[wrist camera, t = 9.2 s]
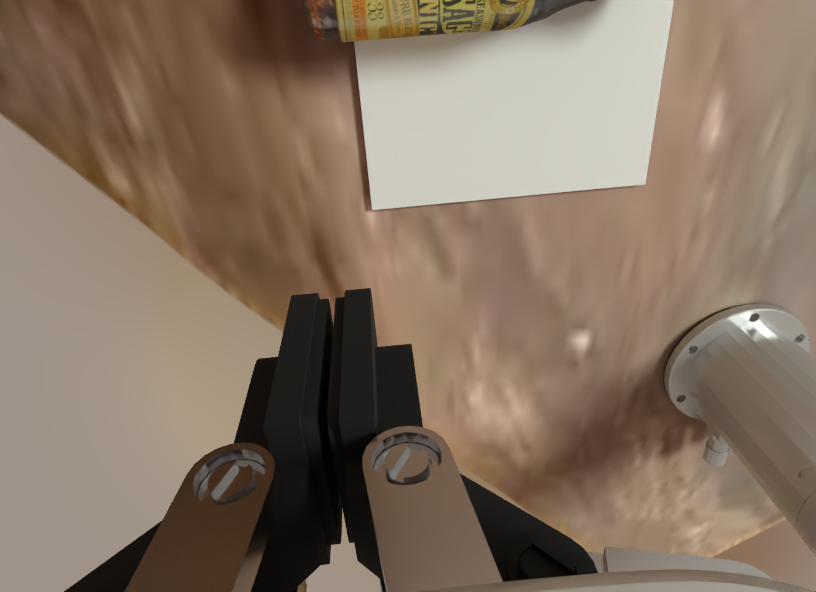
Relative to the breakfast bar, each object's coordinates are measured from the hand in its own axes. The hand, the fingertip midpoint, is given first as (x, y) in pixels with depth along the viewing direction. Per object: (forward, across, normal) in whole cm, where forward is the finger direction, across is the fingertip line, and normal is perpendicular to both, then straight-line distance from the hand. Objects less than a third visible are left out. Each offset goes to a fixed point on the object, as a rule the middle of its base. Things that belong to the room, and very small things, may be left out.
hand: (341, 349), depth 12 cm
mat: (+28, -10, 0) cm, 30 cm away
